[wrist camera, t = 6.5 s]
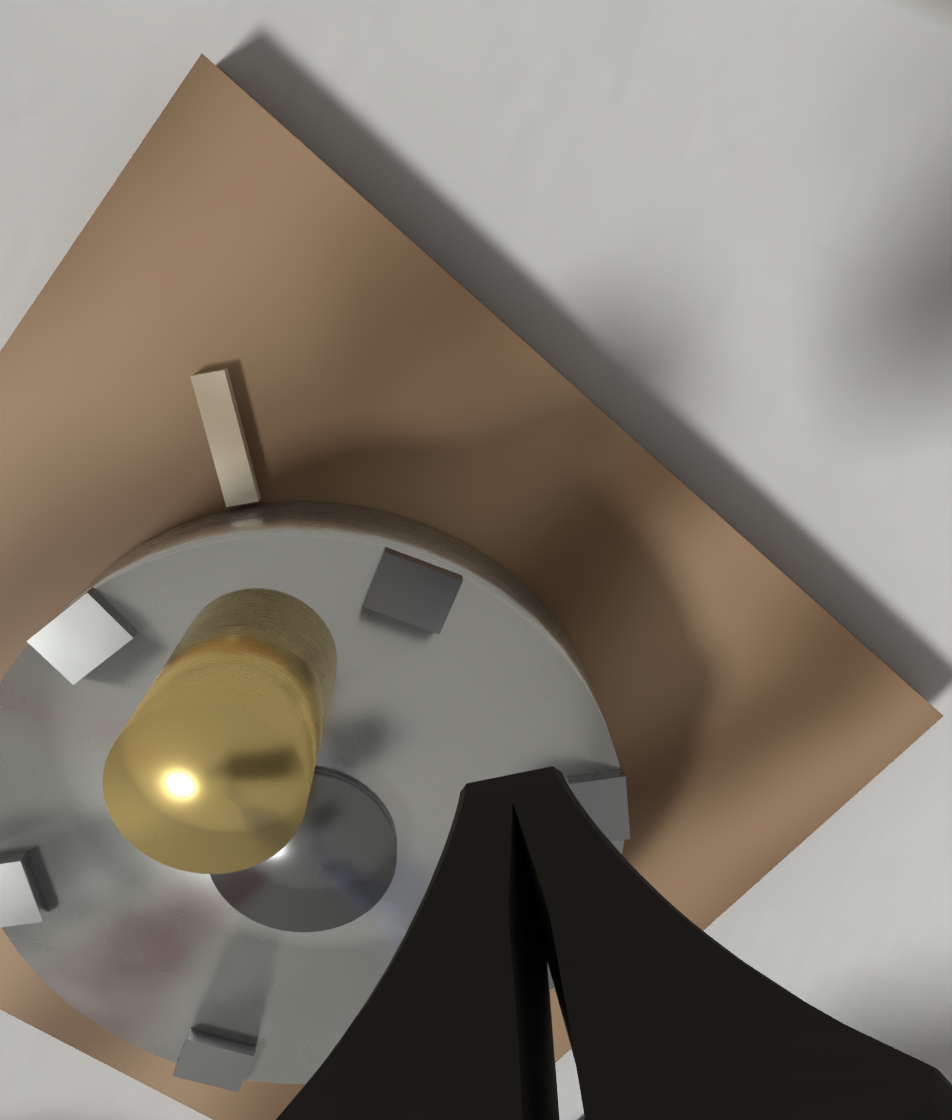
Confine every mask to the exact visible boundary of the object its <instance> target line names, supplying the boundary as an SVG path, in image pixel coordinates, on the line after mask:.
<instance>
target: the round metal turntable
mask: <svg viewBox="0 0 952 1120" xmlns="http://www.w3.org/2000/svg"><path fill="white" fill-rule="evenodd" d="M27 642H28V643H29V644H28V645H27V646H26V648H25V649H24V650H23V652H22V653H21V654H20V655H19V657H18V658H17V659H16V660H15V662H14V663H13V664H12V666H11V667H10V668H9V669H8V671H7V672H6V673H5V675H4V677H3V679H2V680H1V682H0V928H2V929H3V931H4V932H5V934H6V935H7V937H8V938H9V940H10V941H11V943H12V944H13V946H14V947H15V949H16V950H17V952H18V953H19V954H20V955H21V957H22V958H23V959H24V960H25V961H26V962H27V963H28V965H29V966H30V967H31V968H32V969H33V970H34V971H35V973H36V974H37V975H38V976H39V977H40V978H41V979H42V981H43V982H44V983H46V984H47V985H48V986H49V987H50V988H51V989H52V990H53V991H55V992H56V993H57V994H58V995H59V996H60V997H61V998H62V999H64V1000H65V1001H66V1002H67V1003H68V1004H69V1005H70V1006H71V1007H73V1008H74V1009H76V1010H77V1011H78V1012H80V1013H81V1014H83V1015H84V1016H86V1017H87V1018H88V1019H90V1020H91V1021H93V1022H94V1023H96V1024H97V1025H98V1026H100V1027H101V1028H103V1029H105V1030H106V1031H108V1032H110V1033H112V1034H114V1035H115V1036H117V1037H119V1038H121V1039H123V1040H125V1041H126V1042H128V1043H130V1044H132V1045H134V1046H136V1047H138V1048H140V1049H143V1050H145V1051H147V1052H150V1053H152V1054H155V1055H157V1056H159V1057H162V1058H164V1059H167V1060H169V1061H171V1062H174V1063H176V1066H175V1069H174V1072H173V1075H172V1076H174V1077H178V1078H182V1079H186V1080H190V1081H194V1082H199V1083H203V1084H207V1085H211V1086H215V1087H219V1088H223V1089H227V1090H231V1091H235V1092H239V1090H240V1088H241V1085H242V1083H243V1081H244V1080H248V1081H258V1082H268V1083H278V1084H306V1083H307V1082H308V1080H309V1079H310V1078H311V1077H312V1076H313V1074H314V1073H315V1072H316V1071H317V1070H318V1068H319V1067H320V1066H321V1065H322V1063H323V1062H324V1061H325V1059H326V1058H327V1057H328V1055H329V1054H330V1053H331V1051H332V1050H333V1049H334V1047H335V1046H336V1045H337V1043H338V1042H339V1041H340V1039H341V1038H342V1036H343V1035H344V1033H345V1032H346V1030H347V1029H348V1027H349V1026H350V1025H351V1023H352V1022H353V1020H354V1019H355V1017H356V1016H357V1014H358V1013H359V1011H360V1010H361V1009H362V1007H363V1006H364V1004H365V1003H366V1001H367V1000H368V998H369V997H370V995H371V993H372V992H373V990H374V988H375V987H376V985H377V984H378V982H379V980H380V979H381V977H382V975H383V974H384V972H385V970H386V969H387V967H388V965H389V964H390V962H391V960H392V958H393V956H394V955H395V953H396V951H397V949H398V947H399V946H400V944H401V942H402V940H403V938H404V936H405V934H406V932H407V930H408V928H409V926H410V924H411V922H412V920H413V918H414V916H415V914H416V912H417V909H418V907H419V905H420V903H421V901H422V899H423V897H424V895H425V893H426V891H427V888H428V886H429V884H430V881H431V879H432V876H433V874H434V871H435V869H436V866H437V864H438V861H439V859H440V856H441V854H442V851H443V849H444V846H445V843H446V840H447V837H448V834H449V832H450V829H451V825H452V822H453V819H454V816H455V812H456V808H457V805H458V801H459V795H460V792H461V790H462V789H463V788H464V786H465V785H466V784H467V783H471V782H476V781H481V780H486V779H491V778H496V777H501V776H506V775H511V774H516V773H521V772H526V771H531V770H536V769H541V768H546V767H551V766H553V767H555V768H556V769H558V770H560V771H561V772H562V774H563V776H564V778H565V780H566V782H567V784H568V785H569V787H570V789H571V790H572V792H573V794H574V795H575V797H576V798H577V800H578V801H579V802H580V804H581V805H582V807H583V808H584V809H585V811H586V812H587V813H588V815H589V816H590V817H591V819H592V820H593V821H594V823H595V824H596V825H597V826H598V828H599V829H600V830H601V831H602V832H603V834H604V835H605V836H606V837H607V838H608V839H609V840H610V842H611V843H612V844H613V845H614V846H615V847H616V848H617V850H618V851H619V852H620V853H621V854H622V852H623V845H624V840H627V839H630V827H629V814H628V802H627V789H626V776H625V774H624V771H623V769H620V765H619V762H618V759H617V756H616V752H615V749H614V746H613V743H612V740H611V737H610V734H609V731H608V728H607V725H606V723H605V720H604V717H603V715H602V712H601V710H600V707H599V704H598V702H597V699H596V696H595V694H594V691H593V689H592V686H591V683H590V681H589V678H588V676H587V673H586V671H585V669H584V667H583V665H582V663H581V661H580V659H579V657H578V655H577V653H576V651H575V649H574V647H573V645H572V643H571V642H570V640H569V639H568V637H567V636H566V634H565V633H564V632H563V630H562V629H561V627H560V626H559V624H558V623H557V621H556V620H555V619H554V617H553V616H552V614H551V613H550V612H549V611H548V610H547V609H546V608H545V606H544V605H543V604H542V603H541V602H540V601H539V600H538V599H537V598H536V597H535V596H534V595H533V593H532V592H531V591H530V590H529V589H528V588H527V587H526V586H525V585H524V584H523V583H521V582H520V581H519V580H518V579H517V578H515V577H514V576H513V575H512V574H510V573H509V572H508V571H507V570H506V569H504V568H503V567H502V566H501V565H500V564H498V563H497V562H496V561H494V560H493V559H491V558H490V557H488V556H486V555H485V554H483V553H482V552H480V551H478V550H477V549H475V548H473V547H472V546H470V545H469V544H467V543H465V542H464V541H462V540H460V539H458V538H456V537H454V536H451V535H449V534H447V533H445V532H443V531H441V530H438V529H436V528H434V527H432V526H430V525H427V524H425V523H422V522H419V521H416V520H413V519H409V518H406V517H403V516H400V515H397V514H393V513H390V512H387V511H383V510H378V509H372V508H366V507H361V506H355V505H350V504H344V503H328V502H309V501H294V502H280V503H266V504H256V505H251V506H246V507H241V508H236V509H231V510H226V511H221V512H216V513H213V514H211V515H208V516H205V517H202V518H199V519H196V520H193V521H190V522H187V523H184V524H181V525H179V526H176V527H174V528H172V529H170V530H168V531H166V532H164V533H162V534H160V535H158V536H156V537H154V538H152V539H150V540H148V541H146V542H144V543H142V544H140V545H139V546H138V547H136V548H135V549H133V550H132V551H130V552H129V553H127V554H126V555H125V556H123V557H122V558H120V559H119V560H117V561H116V562H114V563H113V564H111V565H110V566H109V567H107V568H106V569H105V570H104V571H103V572H102V573H101V574H100V575H99V576H98V577H97V578H96V579H95V580H94V581H92V582H91V583H90V584H89V585H88V586H87V587H86V588H85V589H84V590H83V591H82V592H81V593H80V594H79V595H78V596H77V597H75V598H74V599H73V600H72V601H71V602H70V603H69V604H68V605H67V606H66V607H65V608H64V609H63V610H62V611H61V612H60V613H59V614H58V615H57V616H56V617H55V618H53V619H52V620H51V621H50V622H48V623H47V624H46V625H45V626H43V627H42V628H41V629H40V630H38V631H37V632H36V633H35V634H33V635H32V636H31V637H30V638H29V639H28V640H27ZM547 966H548V963H547ZM548 978H549V991H550V990H551V989H552V988H553V987H554V984H553V981H552V977H551V973H550V970H549V966H548Z"/></svg>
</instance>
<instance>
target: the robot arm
mask: <svg viewBox="0 0 952 1120" xmlns="http://www.w3.org/2000/svg"><path fill="white" fill-rule="evenodd" d="M547 963H548V966H549V970H550V973H551V977H552V981H553V984H554V988H555V991H556V995H557V998H558V1002H559V1006H560V1009H561V1013H562V1016H563V1020H564V1023H565V1027H566V1031H567V1034H568V1038H569V1041H570V1045H571V1048H572V1052H573V1056H574V1059H575V1063H576V1067H577V1073H578V1079H579V1084H580V1090H581V1096H582V1102H583V1108H584V1114H585V1120H952V1085H951V1083H950V1082H949V1081H948V1080H947V1079H946V1078H945V1077H944V1076H943V1074H942V1073H941V1072H940V1071H939V1070H938V1069H936V1068H934V1067H933V1066H930V1065H928V1064H926V1063H924V1062H922V1061H920V1060H918V1059H916V1058H914V1057H912V1056H909V1055H907V1054H905V1053H903V1052H901V1051H899V1050H897V1049H895V1048H893V1047H891V1046H888V1045H886V1044H884V1043H882V1042H880V1041H878V1040H876V1039H874V1038H872V1037H870V1036H867V1035H865V1034H863V1033H861V1032H859V1031H857V1030H855V1029H853V1028H851V1027H849V1026H847V1025H845V1024H843V1023H841V1022H839V1021H837V1020H836V1019H834V1018H832V1017H830V1016H829V1015H827V1014H825V1013H823V1012H822V1011H820V1010H818V1009H816V1008H815V1007H813V1006H811V1005H809V1004H808V1003H806V1002H804V1001H803V1000H801V999H800V998H798V997H797V996H795V995H794V994H792V993H791V992H789V991H787V990H786V989H784V988H783V987H781V986H780V985H778V984H777V983H775V982H774V981H772V980H771V979H769V978H768V977H766V976H765V975H763V974H762V973H760V972H758V971H757V970H755V969H754V968H752V967H751V966H749V965H748V964H746V963H745V962H743V961H742V960H740V959H739V958H738V957H736V956H735V955H734V954H732V953H731V952H730V951H728V950H727V949H726V948H724V947H723V946H722V945H721V944H719V943H718V942H717V941H715V940H714V939H713V938H711V937H710V936H709V935H707V934H706V933H705V932H704V931H703V930H701V929H700V928H699V927H698V926H697V925H695V924H694V923H693V922H692V921H690V920H689V919H688V918H687V917H686V916H684V915H683V914H682V913H681V912H680V911H679V910H678V909H676V908H675V907H674V906H673V905H672V904H671V903H670V902H669V901H668V900H667V899H665V898H664V897H663V896H662V895H661V894H660V893H659V892H658V891H657V890H656V889H655V888H654V887H653V886H652V885H651V884H650V883H649V882H648V881H647V880H646V879H645V878H644V877H643V876H642V875H641V874H640V873H639V872H638V871H637V870H636V869H635V868H634V867H633V866H632V865H631V864H630V863H629V862H628V861H627V860H626V859H625V858H624V856H623V855H622V854H621V853H620V852H619V851H618V850H617V848H616V847H615V846H614V845H613V844H612V843H611V842H610V840H609V839H608V838H607V837H606V836H605V835H604V834H603V832H602V831H601V830H600V829H599V828H598V826H597V825H596V824H595V823H594V821H593V820H592V819H591V817H590V816H589V815H588V813H587V812H586V811H585V809H584V808H583V807H582V805H581V804H580V802H579V801H578V800H577V798H576V797H575V795H574V794H573V792H572V790H571V789H570V787H569V785H568V784H567V782H566V780H565V778H564V776H563V774H562V772H561V771H560V770H558V769H556V768H555V767H553V766H551V767H546V768H541V769H536V770H531V771H526V772H521V773H516V774H511V775H506V776H501V777H496V778H491V779H486V780H481V781H476V782H471V783H467V784H466V785H465V786H464V788H463V789H462V790H461V792H460V795H459V801H458V805H457V808H456V812H455V816H454V819H453V822H452V825H451V829H450V832H449V834H448V837H447V840H446V843H445V846H444V849H443V851H442V854H441V856H440V859H439V861H438V864H437V866H436V869H435V871H434V874H433V876H432V879H431V881H430V884H429V886H428V888H427V891H426V893H425V895H424V897H423V899H422V901H421V903H420V905H419V907H418V909H417V912H416V914H415V916H414V918H413V920H412V922H411V924H410V926H409V928H408V930H407V932H406V934H405V936H404V938H403V940H402V942H401V944H400V946H399V947H398V949H397V951H396V953H395V955H394V956H393V958H392V960H391V962H390V964H389V965H388V967H387V969H386V970H385V972H384V974H383V975H382V977H381V979H380V980H379V982H378V984H377V985H376V987H375V988H374V990H373V992H372V993H371V995H370V997H369V998H368V1000H367V1001H366V1003H365V1004H364V1006H363V1007H362V1009H361V1010H360V1011H359V1013H358V1014H357V1016H356V1017H355V1019H354V1020H353V1022H352V1023H351V1025H350V1026H349V1027H348V1029H347V1030H346V1032H345V1033H344V1035H343V1036H342V1038H341V1039H340V1041H339V1042H338V1043H337V1045H336V1046H335V1047H334V1049H333V1050H332V1051H331V1053H330V1054H329V1055H328V1057H327V1058H326V1059H325V1061H324V1062H323V1063H322V1065H321V1066H320V1067H319V1068H318V1070H317V1071H316V1072H315V1073H314V1074H313V1076H312V1077H311V1078H310V1079H309V1080H308V1082H307V1083H306V1084H305V1085H304V1086H303V1088H302V1089H301V1090H300V1091H299V1092H298V1094H297V1095H296V1096H295V1097H294V1098H293V1100H292V1101H291V1102H290V1103H289V1104H288V1106H287V1107H286V1108H285V1109H284V1110H283V1112H282V1113H281V1114H280V1115H279V1116H278V1118H277V1119H276V1120H559V1109H558V1096H557V1083H556V1070H555V1056H554V1043H553V1030H552V1017H551V1004H550V991H549V978H548V966H547Z"/></svg>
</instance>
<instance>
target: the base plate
mask: <svg viewBox="0 0 952 1120" xmlns="http://www.w3.org/2000/svg"><path fill="white" fill-rule="evenodd" d="M294 501H309V502H328V503H344V504H350V505H355V506H361V507H366V508H372V509H378V510H383V511H387V512H390V513H393V514H397V515H400V516H403V517H406V518H409V519H413V520H416V521H419V522H422V523H425V524H427V525H430V526H432V527H434V528H436V529H438V530H441V531H443V532H445V533H447V534H449V535H451V536H454V537H456V538H458V539H460V540H462V541H464V542H465V543H467V544H469V545H470V546H472V547H473V548H475V549H477V550H478V551H480V552H482V553H483V554H485V555H486V556H488V557H490V558H491V559H493V560H494V561H496V562H497V563H498V564H500V565H501V566H502V567H503V568H504V569H506V570H507V571H508V572H509V573H510V574H512V575H513V576H514V577H515V578H517V579H518V580H519V581H520V582H521V583H523V584H524V585H525V586H526V587H527V588H528V589H529V590H530V591H531V592H532V593H533V595H534V596H535V597H536V598H537V599H538V600H539V601H540V602H541V603H542V604H543V605H544V606H545V608H546V609H547V610H548V611H549V612H550V613H551V614H552V616H553V617H554V619H555V620H556V621H557V623H558V624H559V626H560V627H561V629H562V630H563V632H564V633H565V634H566V636H567V637H568V639H569V640H570V642H571V643H572V645H573V647H574V649H575V651H576V653H577V655H578V657H579V659H580V661H581V663H582V665H583V667H584V669H585V671H586V673H587V676H588V678H589V681H590V683H591V686H592V689H593V691H594V694H595V696H596V699H597V702H598V704H599V707H600V710H601V712H602V715H603V717H604V720H605V723H606V725H607V728H608V731H609V734H610V737H611V740H612V743H613V746H614V749H615V752H616V756H617V759H618V762H619V765H620V769H623V771H624V774H625V776H626V789H627V802H628V814H629V827H630V839H627V840H624V845H623V852H622V855H623V856H624V858H625V859H626V860H627V861H628V862H629V863H630V864H631V865H632V866H633V867H634V868H635V869H636V870H637V871H638V872H639V873H640V874H641V875H642V876H643V877H644V878H645V879H646V880H647V881H648V882H649V883H650V884H651V885H652V886H653V887H654V888H655V889H656V890H657V891H658V892H659V893H660V894H661V895H662V896H663V897H664V898H665V899H667V900H668V901H669V902H670V903H671V904H672V905H673V906H674V907H675V908H676V909H678V910H679V911H680V912H681V913H682V914H683V915H684V916H686V917H687V918H688V919H689V920H690V921H692V922H693V923H694V924H695V925H697V926H698V927H699V928H700V929H701V930H704V929H706V928H707V927H708V926H709V925H710V924H711V923H712V922H713V921H714V920H716V919H717V918H718V917H719V916H720V915H721V914H722V913H723V912H725V911H726V910H727V909H728V908H729V907H730V906H731V905H732V904H733V903H735V902H736V901H737V900H738V899H739V898H740V897H741V896H742V895H744V894H745V893H746V892H747V891H748V890H749V889H750V888H751V887H753V886H754V885H755V884H756V883H757V882H758V881H759V880H760V879H761V878H763V877H764V876H765V875H766V874H767V873H768V872H769V871H770V870H772V869H773V868H774V867H775V866H776V865H777V864H778V863H779V862H781V861H782V860H783V859H784V858H785V857H786V856H787V855H788V854H789V853H791V852H792V851H793V850H794V849H795V848H796V847H797V846H798V845H800V844H801V843H802V842H803V841H804V840H805V839H806V838H807V837H808V836H810V835H811V834H812V833H813V832H814V831H815V830H816V829H817V828H819V827H820V826H821V825H822V824H823V823H824V822H825V821H826V820H828V819H829V818H830V817H831V816H832V815H833V814H834V813H835V812H836V811H838V810H839V809H840V808H841V807H842V806H843V805H844V804H845V803H847V802H848V801H849V800H850V799H851V798H852V797H853V796H854V795H855V794H857V793H858V792H859V791H860V790H861V789H862V788H863V787H864V786H866V785H867V784H868V783H869V782H870V781H871V780H872V779H873V778H875V777H876V776H877V775H878V774H879V773H880V772H881V771H882V770H883V769H885V768H886V767H887V766H888V765H889V764H890V763H891V762H892V761H894V760H895V759H896V758H897V757H898V756H899V755H900V754H901V753H903V752H904V751H905V750H906V749H907V748H908V747H909V746H910V745H911V744H913V743H914V742H915V741H916V740H917V739H918V738H919V737H920V736H922V735H923V734H924V733H925V732H926V731H927V730H928V729H929V728H930V727H932V726H933V725H934V724H935V723H936V722H937V721H938V720H939V719H941V718H942V717H943V715H942V714H941V713H939V712H938V711H937V710H936V709H935V708H934V707H933V706H932V705H931V704H929V703H928V702H927V701H926V700H925V699H924V698H923V697H922V696H920V695H919V694H918V693H917V692H916V691H915V690H914V689H913V688H912V687H910V686H909V685H908V684H907V683H906V682H905V681H904V680H903V679H901V678H900V677H899V676H898V675H897V674H896V673H895V672H894V671H892V670H891V669H890V668H889V667H888V666H887V665H886V664H885V663H884V662H882V661H881V660H880V659H879V658H878V657H877V656H876V655H875V654H873V653H872V652H871V651H870V650H869V649H868V648H867V647H866V646H865V645H863V644H862V643H861V642H860V641H859V640H858V639H857V638H856V637H854V636H853V635H852V634H851V633H850V632H849V631H848V630H847V629H845V628H844V627H843V626H842V625H841V624H840V623H839V622H838V621H837V620H835V619H834V618H833V617H832V616H831V615H830V614H829V613H828V612H826V611H825V610H824V609H823V608H822V607H821V606H820V605H819V604H818V603H816V602H815V601H814V600H813V599H812V598H811V597H810V596H809V595H807V594H806V593H805V592H804V591H803V590H802V589H801V588H800V587H798V586H797V585H796V584H795V583H794V582H793V581H792V580H791V579H790V578H788V577H787V576H786V575H785V574H784V573H783V572H782V571H781V570H779V569H778V568H777V567H776V566H775V565H774V564H773V563H772V562H771V561H769V560H768V559H767V558H766V557H765V556H764V555H763V554H762V553H760V552H759V551H758V550H757V549H756V548H755V547H754V546H753V545H751V544H750V543H749V542H748V541H747V540H746V539H745V538H744V537H743V536H741V535H740V534H739V533H738V532H737V531H736V530H735V529H734V528H732V527H731V526H730V525H729V524H728V523H727V522H726V521H725V520H724V519H722V518H721V517H720V516H719V515H718V514H717V513H716V512H715V511H713V510H712V509H711V508H710V507H709V506H708V505H707V504H706V503H704V502H703V501H702V500H701V499H700V498H699V497H698V496H697V495H696V494H694V493H693V492H692V491H691V490H690V489H689V488H688V487H687V486H685V485H684V484H683V483H682V482H681V481H680V480H679V479H678V478H677V477H675V476H674V475H673V474H672V473H671V472H670V471H669V470H668V469H666V468H665V467H664V466H663V465H662V464H661V463H660V462H659V461H657V460H656V459H655V458H654V457H653V456H652V455H651V454H650V453H649V452H647V451H646V450H645V449H644V448H643V447H642V446H641V445H640V444H638V443H637V442H636V441H635V440H634V439H633V438H632V437H631V436H630V435H628V434H627V433H626V432H625V431H624V430H623V429H622V428H621V427H619V426H618V425H617V424H616V423H615V422H614V421H613V420H612V419H611V418H609V417H608V416H607V415H606V414H605V413H604V412H603V411H602V410H600V409H599V408H598V407H597V406H596V405H595V404H594V403H593V402H591V401H590V400H589V399H588V398H587V397H586V396H585V395H584V394H583V393H581V392H580V391H579V390H578V389H577V388H576V387H575V386H574V385H572V384H571V383H570V382H569V381H568V380H567V379H566V378H565V377H564V376H562V375H561V374H560V373H559V372H558V371H557V370H556V369H555V368H553V367H552V366H551V365H550V364H549V363H548V362H547V361H546V360H544V359H543V358H542V357H541V356H540V355H539V354H538V353H537V352H536V351H534V350H533V349H532V348H531V347H530V346H529V345H528V344H527V343H525V342H524V341H523V340H522V339H521V338H520V337H519V336H518V335H517V334H515V333H514V332H513V331H512V330H511V329H510V328H509V327H508V326H506V325H505V324H504V323H503V322H502V321H501V320H500V319H499V318H497V317H496V316H495V315H494V314H493V313H492V312H491V311H490V310H489V309H487V308H486V307H485V306H484V305H483V304H482V303H481V302H480V301H478V300H477V299H476V298H475V297H474V296H473V295H472V294H471V293H470V292H468V291H467V290H466V289H465V288H464V287H463V286H462V285H461V284H459V283H458V282H457V281H456V280H455V279H454V278H453V277H452V276H450V275H449V274H448V273H447V272H446V271H445V270H444V269H443V268H442V267H440V266H439V265H438V264H437V263H436V262H435V261H434V260H433V259H431V258H430V257H429V256H428V255H427V254H426V253H425V252H424V251H423V250H421V249H420V248H419V247H418V246H417V245H416V244H415V243H414V242H412V241H411V240H410V239H409V238H408V237H407V236H406V235H405V234H403V233H402V232H401V231H400V230H399V229H398V228H397V227H396V226H395V225H393V224H392V223H391V222H390V221H389V220H388V219H387V218H386V217H384V216H383V215H382V214H381V213H380V212H379V211H378V210H377V209H376V208H374V207H373V206H372V205H371V204H370V203H369V202H368V201H367V200H365V199H364V198H363V197H362V196H361V195H360V194H359V193H358V192H356V191H355V190H354V189H353V188H352V187H351V186H350V185H349V184H348V183H346V182H345V181H344V180H343V179H342V178H341V177H340V176H339V175H337V174H336V173H335V172H334V171H333V170H332V169H331V168H330V167H329V166H327V165H326V164H325V163H324V162H323V161H322V160H321V159H320V158H318V157H317V156H316V155H315V154H314V153H313V152H312V151H311V150H309V149H308V148H307V147H306V146H305V145H304V144H303V143H302V142H301V141H299V140H298V139H297V138H296V137H295V136H294V135H293V134H292V133H290V132H289V131H288V130H287V129H286V128H285V127H284V126H283V125H282V124H280V123H279V122H278V121H277V120H276V119H275V118H274V117H273V116H271V115H270V114H269V113H268V112H267V111H266V110H265V109H264V108H262V107H261V106H260V105H259V104H258V103H257V102H256V101H255V100H254V99H252V98H251V97H250V96H249V95H248V94H247V93H246V92H245V91H243V90H242V89H241V88H240V87H239V86H238V85H237V84H236V83H235V82H233V81H232V80H231V79H230V78H229V77H228V76H227V75H226V74H224V73H223V72H222V71H221V70H220V69H219V68H218V67H217V66H215V65H214V64H213V63H212V62H211V61H210V60H209V59H208V58H207V57H205V56H204V55H203V54H201V55H200V57H199V58H198V60H197V61H196V63H195V64H194V66H193V67H192V69H191V70H190V72H189V73H188V75H187V76H186V78H185V79H184V81H183V82H182V84H181V85H180V87H179V88H178V89H177V91H176V92H175V94H174V95H173V97H172V98H171V100H170V101H169V103H168V104H167V106H166V107H165V109H164V110H163V112H162V113H161V115H160V116H159V118H158V119H157V121H156V122H155V124H154V125H153V126H152V128H151V129H150V131H149V132H148V134H147V135H146V137H145V138H144V140H143V141H142V143H141V144H140V146H139V147H138V149H137V150H136V152H135V153H134V155H133V156H132V158H131V159H130V161H129V162H128V163H127V165H126V166H125V168H124V169H123V171H122V172H121V174H120V175H119V177H118V178H117V180H116V181H115V183H114V184H113V186H112V187H111V189H110V190H109V192H108V193H107V195H106V196H105V198H104V199H103V200H102V202H101V203H100V205H99V206H98V208H97V209H96V211H95V212H94V214H93V215H92V217H91V218H90V220H89V221H88V223H87V224H86V226H85V227H84V229H83V230H82V232H81V233H80V235H79V236H78V237H77V239H76V240H75V242H74V243H73V245H72V246H71V248H70V249H69V251H68V252H67V254H66V255H65V257H64V258H63V260H62V261H61V263H60V264H59V266H58V267H57V269H56V270H55V272H54V273H53V274H52V276H51V277H50V279H49V280H48V282H47V283H46V285H45V286H44V288H43V289H42V291H41V292H40V294H39V295H38V297H37V298H36V300H35V301H34V303H33V304H32V306H31V307H30V309H29V310H28V311H27V313H26V314H25V316H24V317H23V319H22V320H21V322H20V323H19V325H18V326H17V328H16V329H15V331H14V332H13V334H12V335H11V337H10V338H9V340H8V341H7V343H6V344H5V346H4V347H3V348H2V350H1V351H0V682H1V680H2V679H3V677H4V675H5V673H6V672H7V671H8V669H9V668H10V667H11V666H12V664H13V663H14V662H15V660H16V659H17V658H18V657H19V655H20V654H21V653H22V652H23V650H24V649H25V648H26V646H27V645H28V644H29V643H28V642H27V640H28V639H29V638H30V637H31V636H32V635H33V634H35V633H36V632H37V631H38V630H40V629H41V628H42V627H43V626H45V625H46V624H47V623H48V622H50V621H51V620H52V619H53V618H55V617H56V616H57V615H58V614H59V613H60V612H61V611H62V610H63V609H64V608H65V607H66V606H67V605H68V604H69V603H70V602H71V601H72V600H73V599H74V598H75V597H77V596H78V595H79V594H80V593H81V592H82V591H83V590H84V589H85V588H86V587H87V586H88V585H89V584H90V583H91V582H92V581H94V580H95V579H96V578H97V577H98V576H99V575H100V574H101V573H102V572H103V571H104V570H105V569H106V568H107V567H109V566H110V565H111V564H113V563H114V562H116V561H117V560H119V559H120V558H122V557H123V556H125V555H126V554H127V553H129V552H130V551H132V550H133V549H135V548H136V547H138V546H139V545H140V544H142V543H144V542H146V541H148V540H150V539H152V538H154V537H156V536H158V535H160V534H162V533H164V532H166V531H168V530H170V529H172V528H174V527H176V526H179V525H181V524H184V523H187V522H190V521H193V520H196V519H199V518H202V517H205V516H208V515H211V514H213V513H216V512H221V511H226V510H231V509H236V508H241V507H246V506H251V505H256V504H266V503H280V502H294ZM550 1004H551V1017H552V1030H553V1043H554V1056H555V1063H556V1062H557V1061H558V1060H559V1059H560V1058H561V1057H562V1056H563V1055H564V1054H566V1053H567V1052H568V1051H569V1050H570V1049H571V1045H570V1041H569V1038H568V1034H567V1031H566V1027H565V1023H564V1020H563V1016H562V1013H561V1009H560V1006H559V1002H558V998H557V995H556V991H555V988H554V987H553V988H552V989H551V990H550ZM0 1009H1V1010H3V1011H5V1012H6V1013H8V1014H10V1015H12V1016H14V1017H16V1018H18V1019H20V1020H22V1021H24V1022H26V1023H28V1024H30V1025H32V1026H33V1027H35V1028H37V1029H39V1030H41V1031H43V1032H45V1033H47V1034H49V1035H51V1036H53V1037H55V1038H57V1039H59V1040H60V1041H62V1042H64V1043H66V1044H68V1045H70V1046H72V1047H74V1048H76V1049H78V1050H80V1051H82V1052H84V1053H86V1054H87V1055H89V1056H91V1057H93V1058H95V1059H97V1060H99V1061H101V1062H103V1063H105V1064H107V1065H109V1066H111V1067H113V1068H114V1069H116V1070H118V1071H120V1072H122V1073H124V1074H126V1075H128V1076H130V1077H132V1078H134V1079H136V1080H138V1081H140V1082H141V1083H143V1084H145V1085H147V1086H149V1087H151V1088H153V1089H155V1090H157V1091H159V1092H161V1093H163V1094H165V1095H167V1096H168V1097H170V1098H172V1099H174V1100H176V1101H178V1102H180V1103H182V1104H184V1105H186V1106H188V1107H190V1108H192V1109H194V1110H195V1111H197V1112H199V1113H201V1114H203V1115H205V1116H207V1117H209V1118H211V1119H213V1120H276V1119H277V1118H278V1116H279V1115H280V1114H281V1113H282V1112H283V1110H284V1109H285V1108H286V1107H287V1106H288V1104H289V1103H290V1102H291V1101H292V1100H293V1098H294V1097H295V1096H296V1095H297V1094H298V1092H299V1091H300V1090H301V1089H302V1088H303V1086H304V1085H305V1084H278V1083H268V1082H258V1081H248V1080H244V1081H243V1083H242V1085H241V1088H240V1090H239V1092H235V1091H231V1090H227V1089H223V1088H219V1087H215V1086H211V1085H207V1084H203V1083H199V1082H194V1081H190V1080H186V1079H182V1078H178V1077H174V1076H172V1075H173V1072H174V1069H175V1066H176V1063H174V1062H171V1061H169V1060H167V1059H164V1058H162V1057H159V1056H157V1055H155V1054H152V1053H150V1052H147V1051H145V1050H143V1049H140V1048H138V1047H136V1046H134V1045H132V1044H130V1043H128V1042H126V1041H125V1040H123V1039H121V1038H119V1037H117V1036H115V1035H114V1034H112V1033H110V1032H108V1031H106V1030H105V1029H103V1028H101V1027H100V1026H98V1025H97V1024H96V1023H94V1022H93V1021H91V1020H90V1019H88V1018H87V1017H86V1016H84V1015H83V1014H81V1013H80V1012H78V1011H77V1010H76V1009H74V1008H73V1007H71V1006H70V1005H69V1004H68V1003H67V1002H66V1001H65V1000H64V999H62V998H61V997H60V996H59V995H58V994H57V993H56V992H55V991H53V990H52V989H51V988H50V987H49V986H48V985H47V984H46V983H44V982H43V981H42V979H41V978H40V977H39V976H38V975H37V974H36V973H35V971H34V970H33V969H32V968H31V967H30V966H29V965H28V963H27V962H26V961H25V960H24V959H23V958H22V957H21V955H20V954H19V953H18V952H17V950H16V949H15V947H14V946H13V944H12V943H11V941H10V940H9V938H8V937H7V935H6V934H5V932H4V931H3V929H2V928H0Z"/></svg>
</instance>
